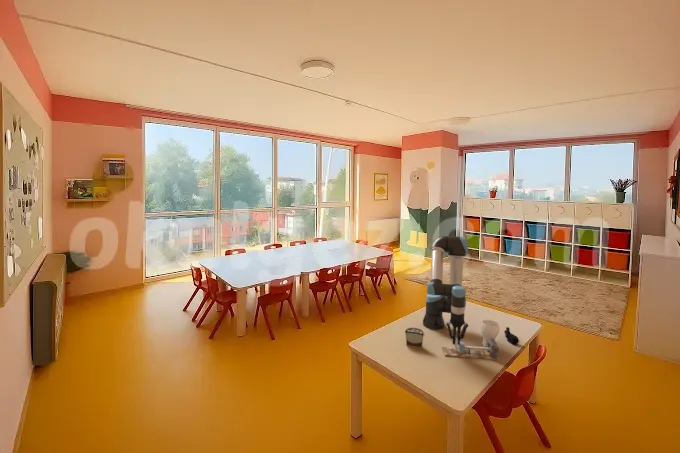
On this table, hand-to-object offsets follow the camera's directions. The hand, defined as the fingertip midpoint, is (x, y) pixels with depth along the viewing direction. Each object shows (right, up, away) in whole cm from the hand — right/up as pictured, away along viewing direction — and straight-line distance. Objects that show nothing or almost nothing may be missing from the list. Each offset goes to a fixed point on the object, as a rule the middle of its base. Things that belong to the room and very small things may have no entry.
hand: (455, 349), depth 194 cm
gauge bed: (+8, -2, -1) cm, 8 cm away
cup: (+24, -1, +9) cm, 26 cm away
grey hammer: (+12, -1, -2) cm, 12 cm away
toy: (+42, 0, +16) cm, 45 cm away
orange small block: (+14, -2, -5) cm, 15 cm away
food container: (-22, -1, +11) cm, 25 cm away
